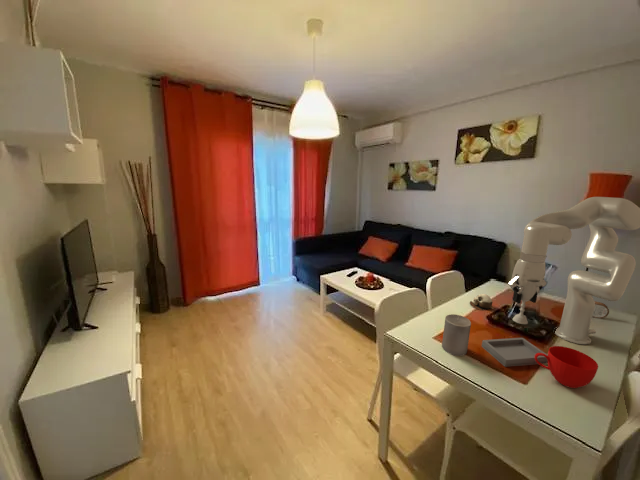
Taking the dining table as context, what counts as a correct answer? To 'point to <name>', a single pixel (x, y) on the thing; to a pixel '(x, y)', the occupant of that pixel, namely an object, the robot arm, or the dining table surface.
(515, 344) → the tray
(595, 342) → the dining table surface
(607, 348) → the dining table surface
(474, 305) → the skull
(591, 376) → the ceramic cup
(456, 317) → the pillar candle
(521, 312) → the chalice
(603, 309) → the tin
